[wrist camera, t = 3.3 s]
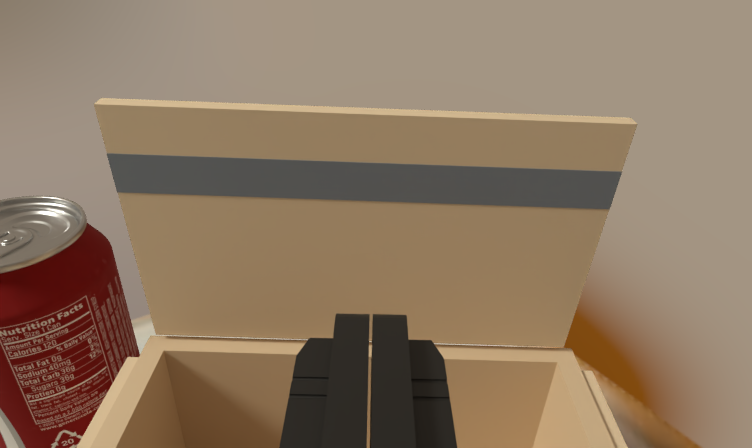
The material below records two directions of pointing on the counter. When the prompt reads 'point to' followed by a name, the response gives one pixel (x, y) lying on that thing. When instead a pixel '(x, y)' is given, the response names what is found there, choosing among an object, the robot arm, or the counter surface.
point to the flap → (362, 216)
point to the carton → (274, 376)
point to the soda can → (56, 322)
